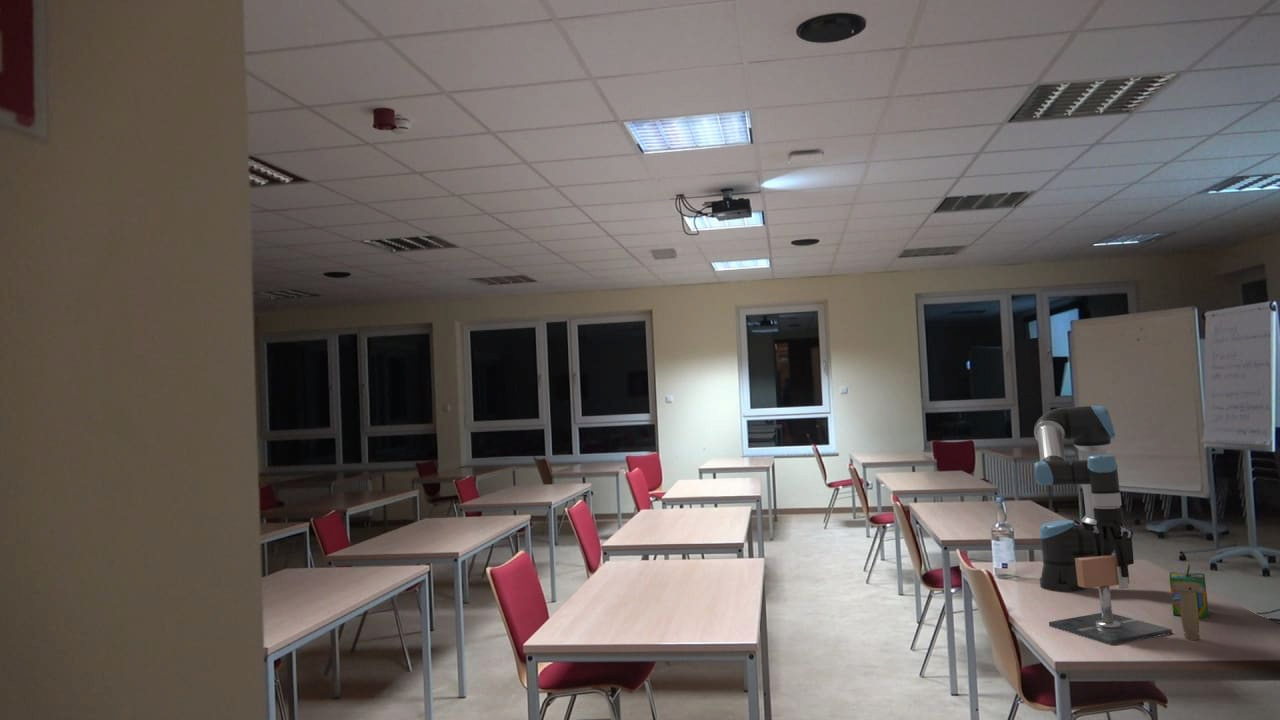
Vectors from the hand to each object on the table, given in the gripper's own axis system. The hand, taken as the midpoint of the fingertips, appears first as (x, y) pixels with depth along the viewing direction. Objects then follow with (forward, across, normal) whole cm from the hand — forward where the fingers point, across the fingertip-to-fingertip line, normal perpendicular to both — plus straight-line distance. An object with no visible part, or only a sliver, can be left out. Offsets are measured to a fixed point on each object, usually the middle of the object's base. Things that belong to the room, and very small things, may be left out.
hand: (1117, 586), depth 229 cm
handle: (+13, -16, -7) cm, 21 cm away
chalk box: (+12, +2, -29) cm, 31 cm away
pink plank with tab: (-1, +1, +4) cm, 4 cm away
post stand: (+12, +1, +4) cm, 13 cm away
